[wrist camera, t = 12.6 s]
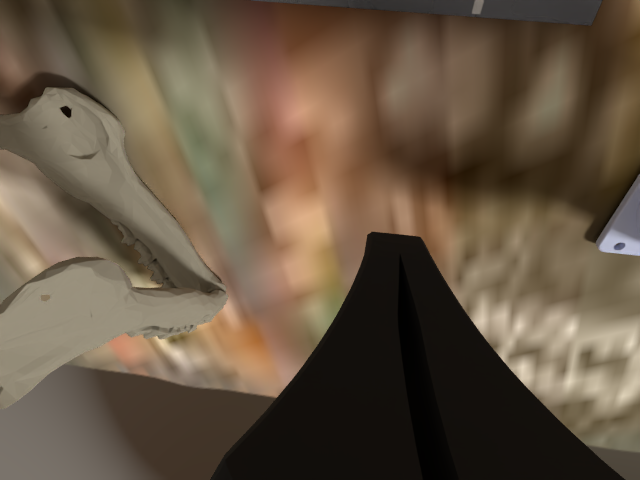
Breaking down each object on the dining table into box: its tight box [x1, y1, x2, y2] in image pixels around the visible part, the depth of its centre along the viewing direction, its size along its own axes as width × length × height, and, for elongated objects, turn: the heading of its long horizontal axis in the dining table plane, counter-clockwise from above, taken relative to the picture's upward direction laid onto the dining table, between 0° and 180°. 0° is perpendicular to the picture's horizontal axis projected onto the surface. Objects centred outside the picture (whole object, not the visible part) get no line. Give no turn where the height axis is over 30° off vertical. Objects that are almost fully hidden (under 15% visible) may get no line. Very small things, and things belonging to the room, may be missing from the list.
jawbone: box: [0, 87, 228, 409], centre depth 21 cm, size 14×8×15 cm
